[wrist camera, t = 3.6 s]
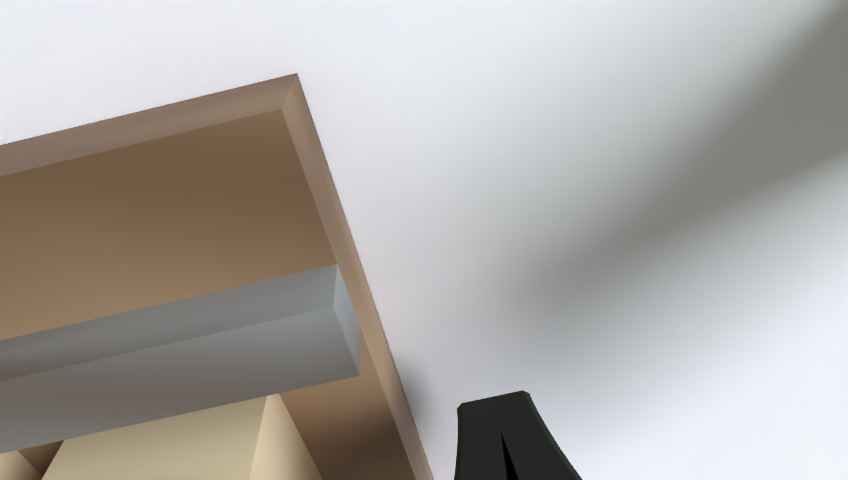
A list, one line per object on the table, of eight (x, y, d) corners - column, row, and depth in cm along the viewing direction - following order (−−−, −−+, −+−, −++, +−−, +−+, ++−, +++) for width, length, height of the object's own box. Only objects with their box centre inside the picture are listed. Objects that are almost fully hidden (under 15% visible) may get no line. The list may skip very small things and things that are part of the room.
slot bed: (447, 520, 17) (461, 638, 14) (19, 608, 18) (-46, 736, 15) (296, 73, 10) (267, 138, 7) (-423, 248, 10) (-710, 371, 8)
